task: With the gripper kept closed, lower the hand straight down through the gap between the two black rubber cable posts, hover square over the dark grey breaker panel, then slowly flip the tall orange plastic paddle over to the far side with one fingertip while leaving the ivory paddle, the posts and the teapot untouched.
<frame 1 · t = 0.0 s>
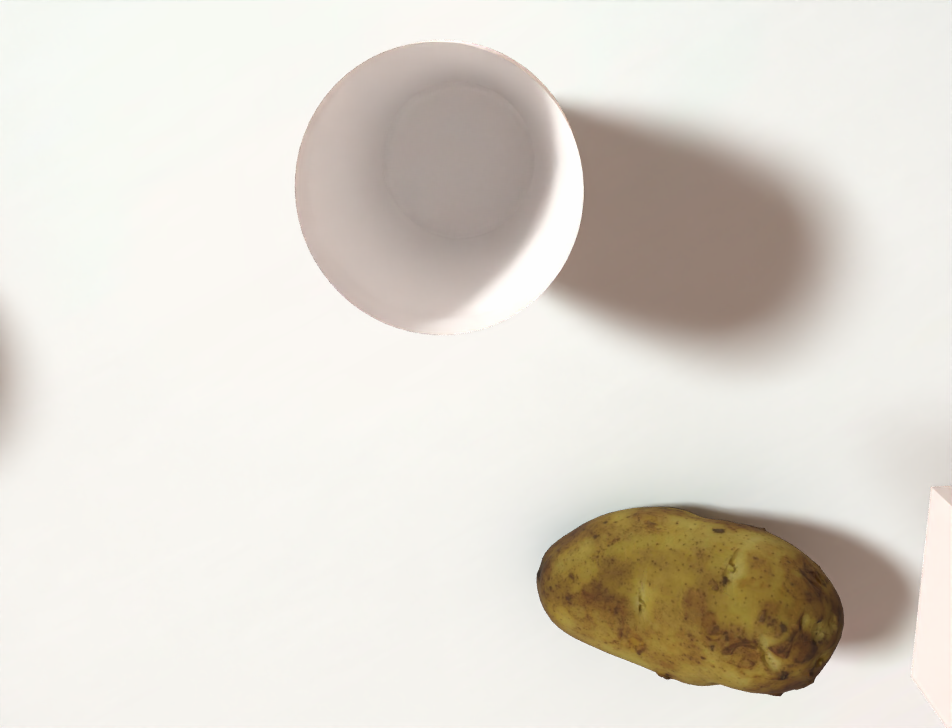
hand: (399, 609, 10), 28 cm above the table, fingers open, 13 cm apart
potato: (667, 547, 42), on the table
cup: (458, 161, 36), on the table
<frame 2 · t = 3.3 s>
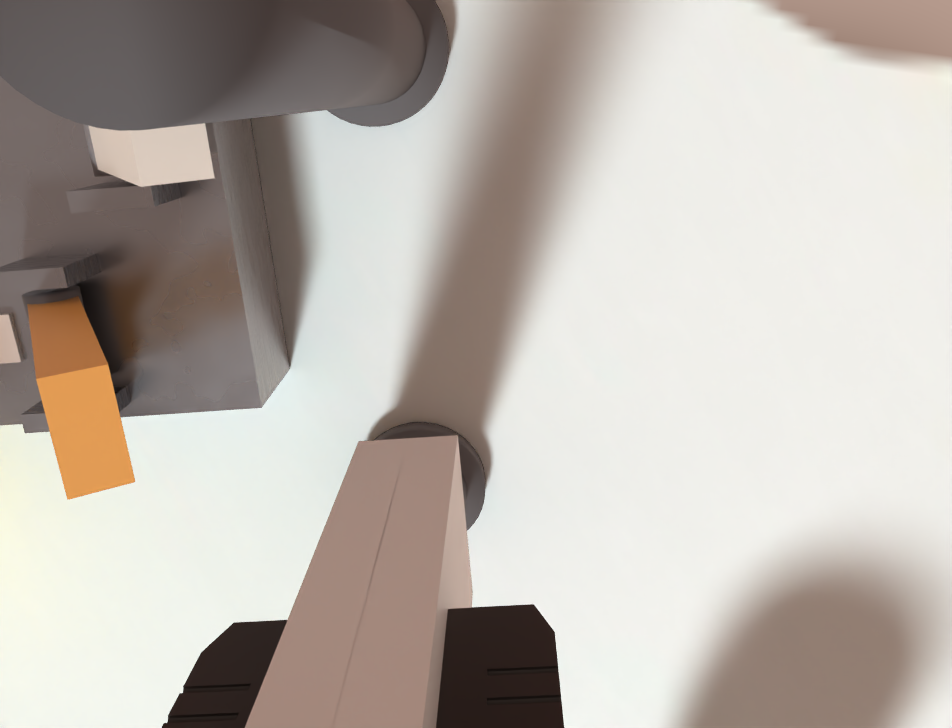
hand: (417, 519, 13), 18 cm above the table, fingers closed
cable post 1: (373, 47, 27), on the table
ivory paddle: (130, 112, 20), point 9 cm above the table, hinge at 30.0°, touching cable post 1
orange paddle: (72, 375, 22), point 9 cm above the table, hinge at 30.0°
breaker panel: (112, 220, 29), on the table
cable post 2: (421, 481, 32), on the table
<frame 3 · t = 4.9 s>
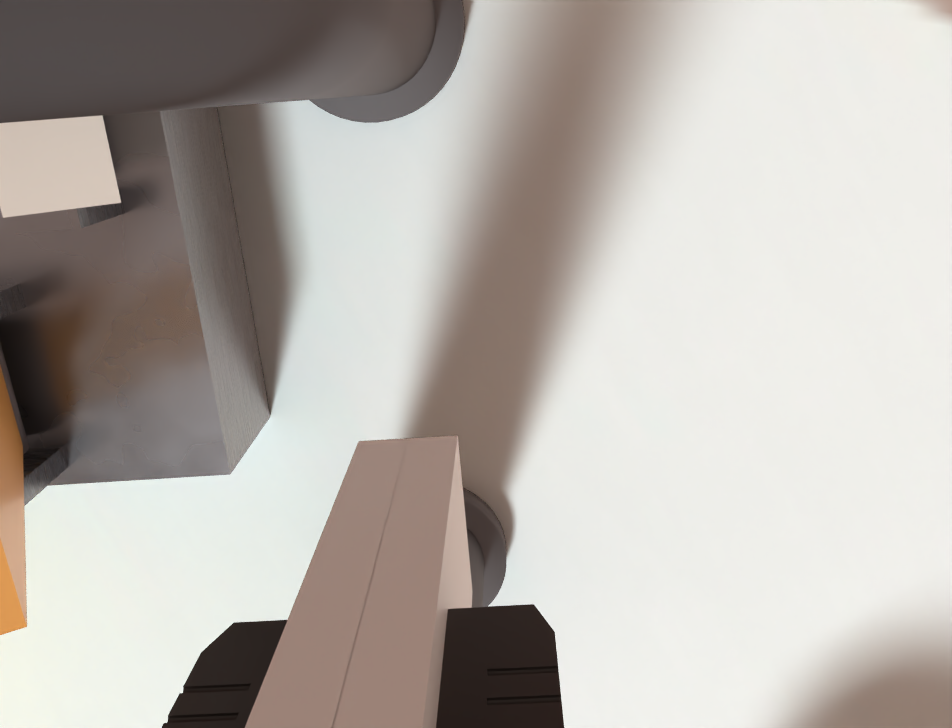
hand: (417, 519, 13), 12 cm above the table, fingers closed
cable post 1: (370, 23, 22), on the table
ivory paddle: (30, 105, 14), point 9 cm above the table, hinge at 30.0°, touching cable post 1
breaker panel: (51, 238, 24), on the table
cable post 2: (429, 549, 27), on the table
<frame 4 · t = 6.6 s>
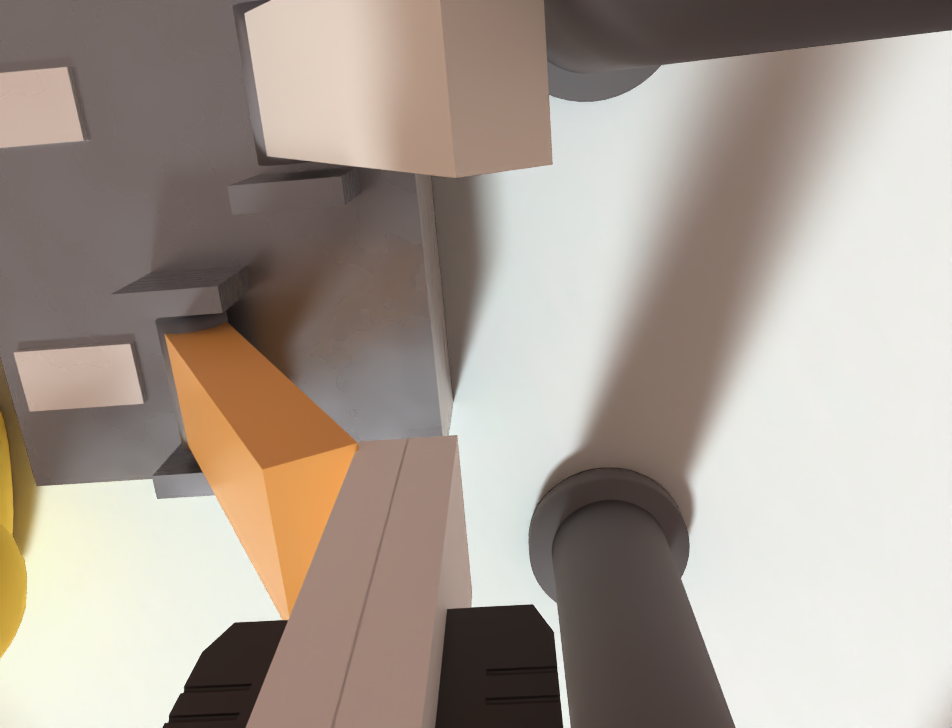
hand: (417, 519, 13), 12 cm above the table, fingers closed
cable post 1: (585, 0, 21), on the table
ivory paddle: (351, 74, 14), point 9 cm above the table, hinge at 30.0°, touching cable post 1
orange paddle: (244, 434, 16), point 9 cm above the table, hinge at 29.9°, touching gripper
breaker panel: (243, 222, 24), on the table
cable post 2: (606, 537, 27), on the table
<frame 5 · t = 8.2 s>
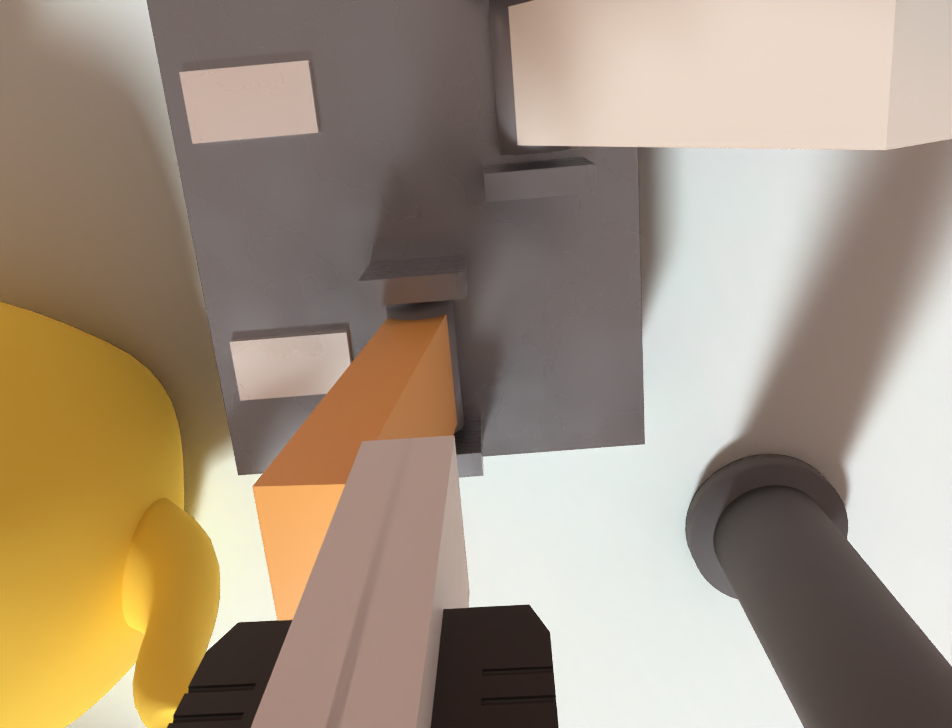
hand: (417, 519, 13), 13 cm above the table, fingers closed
ivory paddle: (660, 61, 15), point 9 cm above the table, hinge at 30.0°, touching cable post 1
orange paddle: (390, 433, 16), point 9 cm above the table, hinge at -6.2°, touching gripper
breaker panel: (425, 215, 24), on the table
cable post 2: (761, 523, 27), on the table
teapot: (2, 426, 27), on the table
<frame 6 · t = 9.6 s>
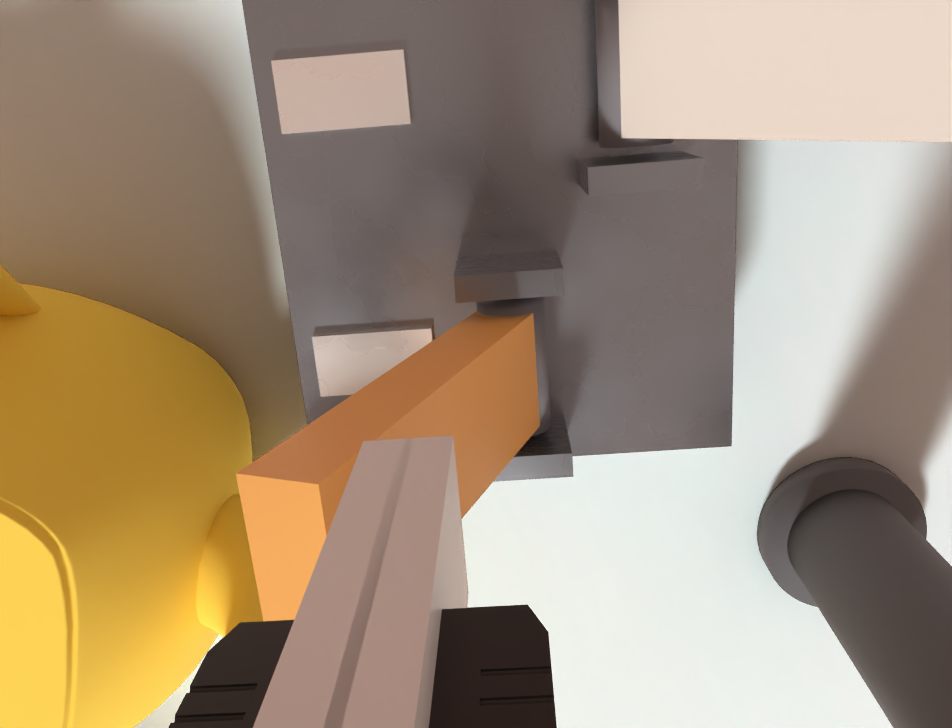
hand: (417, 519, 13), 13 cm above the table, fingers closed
ivory paddle: (792, 51, 14), point 9 cm above the table, hinge at 30.0°, touching cable post 1
orange paddle: (439, 431, 16), point 9 cm above the table, hinge at -21.9°, touching gripper
breaker panel: (503, 209, 24), on the table
cable post 2: (835, 527, 27), on the table
teapot: (67, 419, 26), on the table
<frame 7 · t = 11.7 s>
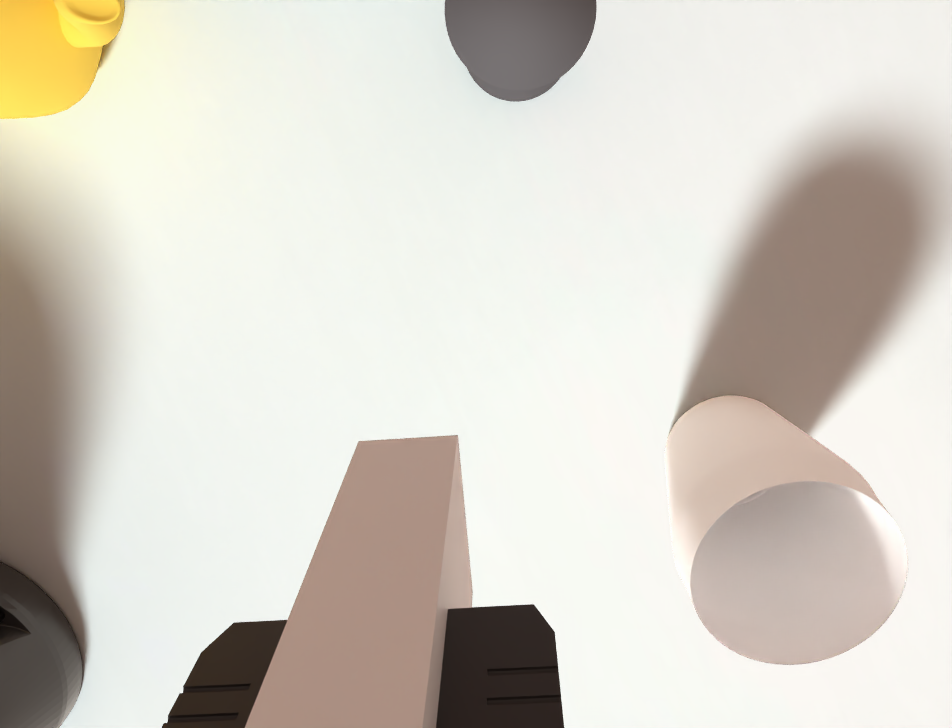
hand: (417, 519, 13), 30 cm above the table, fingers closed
cup: (724, 449, 45), on the table
cable post 2: (516, 44, 38), on the table
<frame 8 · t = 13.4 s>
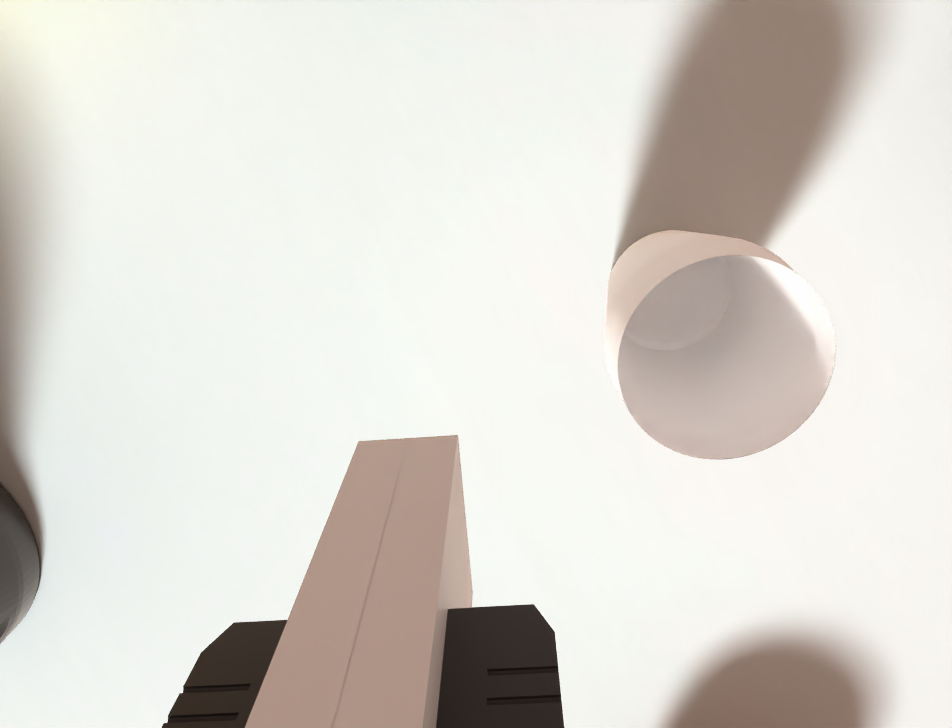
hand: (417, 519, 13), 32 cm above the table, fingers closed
cup: (667, 289, 45), on the table
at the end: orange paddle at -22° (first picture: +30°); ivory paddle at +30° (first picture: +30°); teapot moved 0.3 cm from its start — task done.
